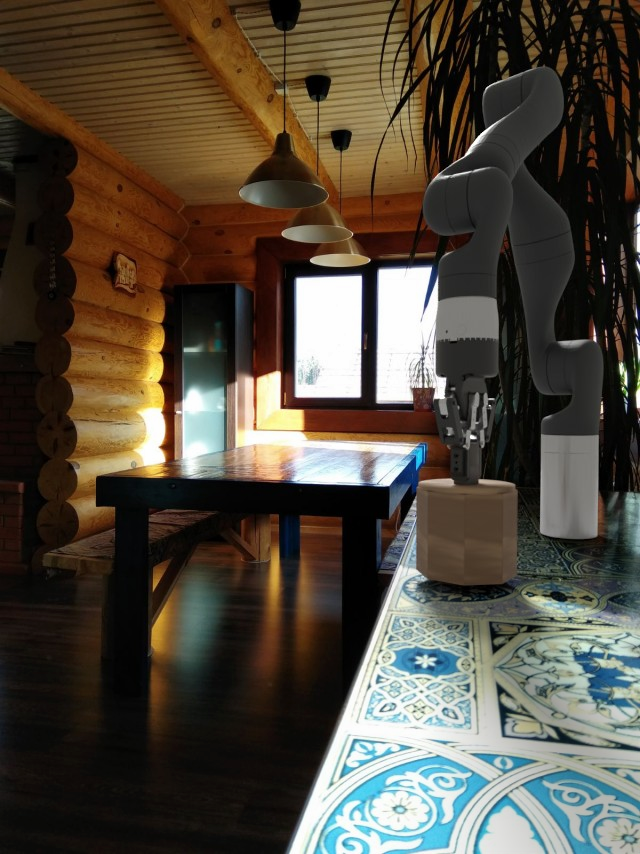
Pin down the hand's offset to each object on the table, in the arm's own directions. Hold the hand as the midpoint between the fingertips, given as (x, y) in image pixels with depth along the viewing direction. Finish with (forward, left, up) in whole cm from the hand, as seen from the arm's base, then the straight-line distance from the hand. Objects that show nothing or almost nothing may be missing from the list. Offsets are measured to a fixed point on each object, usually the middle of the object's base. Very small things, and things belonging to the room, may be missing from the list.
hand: (465, 478), depth 80 cm
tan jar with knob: (0, 0, -12) cm, 12 cm away
